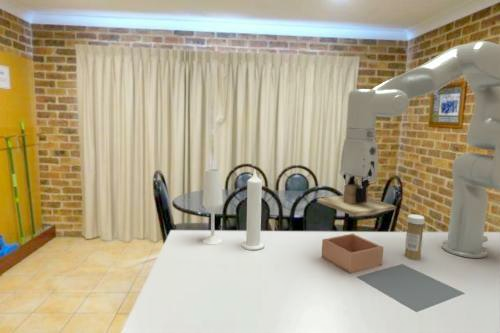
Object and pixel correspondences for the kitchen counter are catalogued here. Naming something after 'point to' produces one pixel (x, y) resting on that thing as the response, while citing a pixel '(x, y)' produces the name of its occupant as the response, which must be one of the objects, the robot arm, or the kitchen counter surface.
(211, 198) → the champagne flute
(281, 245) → the kitchen counter surface
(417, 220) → the sprinkles bottle
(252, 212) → the candle
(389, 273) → the mat
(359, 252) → the open wooden tray
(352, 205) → the lid
